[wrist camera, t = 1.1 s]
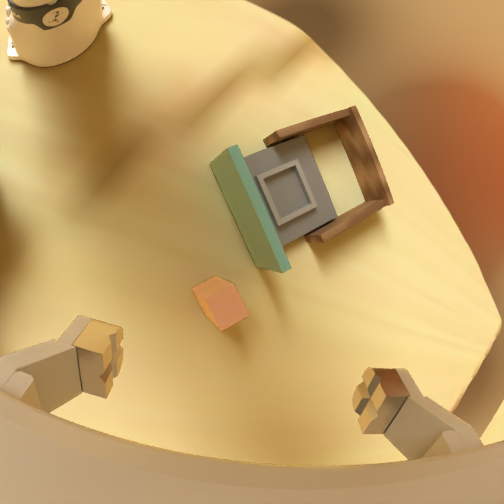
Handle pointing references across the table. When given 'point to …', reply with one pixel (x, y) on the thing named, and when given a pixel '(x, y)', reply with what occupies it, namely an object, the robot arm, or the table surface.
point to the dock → (362, 164)
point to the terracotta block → (220, 302)
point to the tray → (273, 198)
